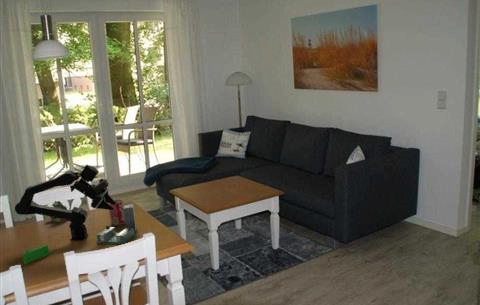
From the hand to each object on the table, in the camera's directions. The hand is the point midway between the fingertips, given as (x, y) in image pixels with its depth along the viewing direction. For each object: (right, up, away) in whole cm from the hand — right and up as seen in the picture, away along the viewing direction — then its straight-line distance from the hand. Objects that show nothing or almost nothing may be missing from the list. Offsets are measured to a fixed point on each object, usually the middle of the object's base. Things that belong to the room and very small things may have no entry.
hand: (114, 206), depth 208 cm
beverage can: (-3, -11, +17) cm, 21 cm away
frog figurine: (-39, -12, +30) cm, 50 cm away
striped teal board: (+3, -15, -5) cm, 16 cm away
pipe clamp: (-28, -21, -21) cm, 41 cm away
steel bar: (+7, -13, +4) cm, 16 cm away
